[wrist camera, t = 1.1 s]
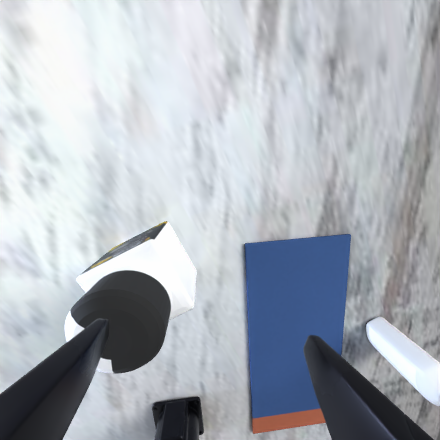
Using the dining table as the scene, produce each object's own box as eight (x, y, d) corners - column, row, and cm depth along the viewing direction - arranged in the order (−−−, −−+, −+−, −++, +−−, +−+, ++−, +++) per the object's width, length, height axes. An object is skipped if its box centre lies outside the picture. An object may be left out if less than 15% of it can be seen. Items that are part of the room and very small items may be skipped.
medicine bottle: (167, 219, 23) (131, 266, 11) (197, 270, 24) (193, 358, 13) (112, 247, 23) (17, 323, 11) (145, 297, 25) (93, 407, 13)
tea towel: (334, 418, 32) (336, 421, 31) (252, 430, 31) (253, 434, 30) (348, 233, 25) (351, 234, 25) (244, 243, 24) (245, 244, 24)
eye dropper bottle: (360, 349, 29) (466, 467, 17) (366, 315, 28) (484, 417, 16) (389, 347, 29) (511, 461, 18) (396, 313, 28) (532, 411, 17)
